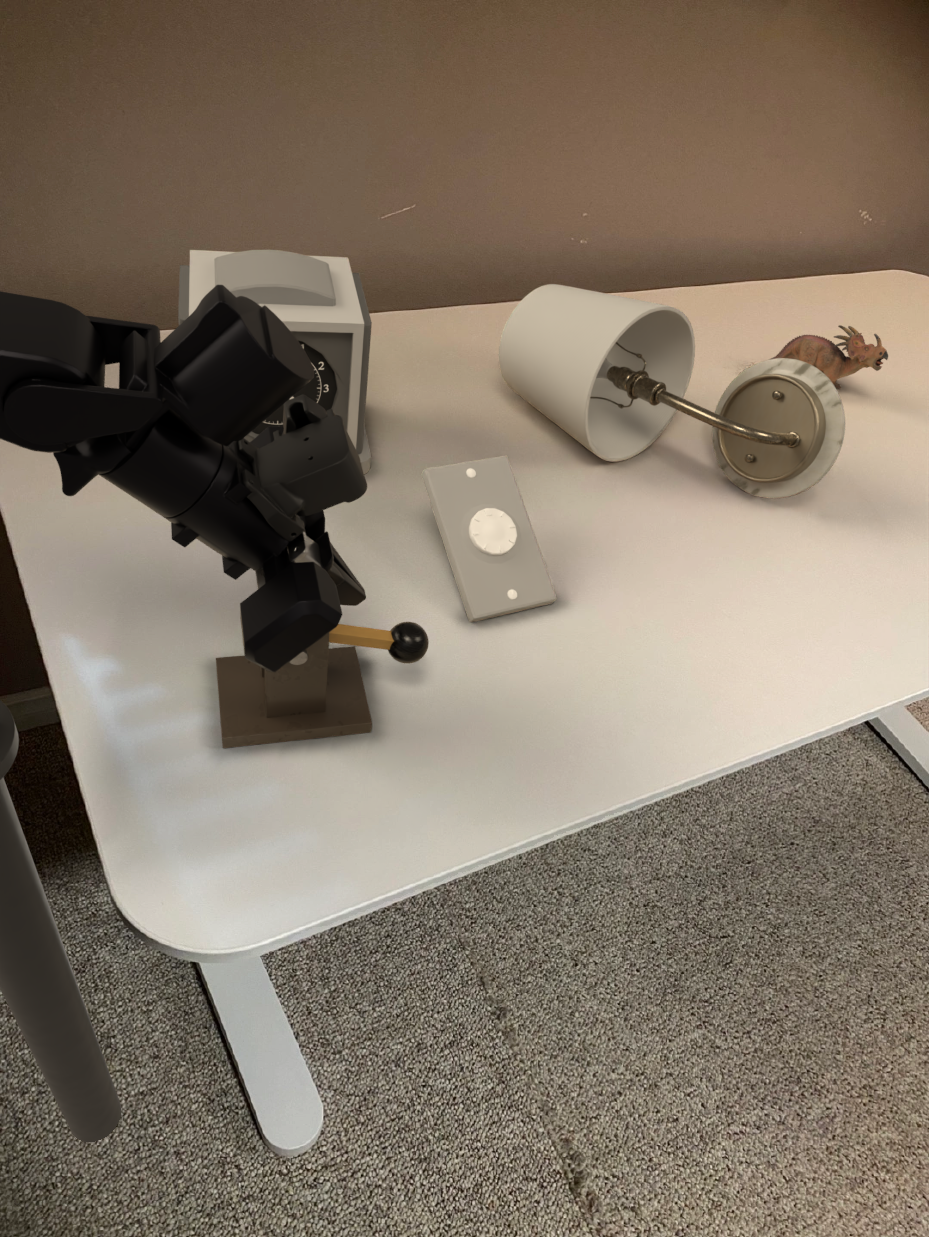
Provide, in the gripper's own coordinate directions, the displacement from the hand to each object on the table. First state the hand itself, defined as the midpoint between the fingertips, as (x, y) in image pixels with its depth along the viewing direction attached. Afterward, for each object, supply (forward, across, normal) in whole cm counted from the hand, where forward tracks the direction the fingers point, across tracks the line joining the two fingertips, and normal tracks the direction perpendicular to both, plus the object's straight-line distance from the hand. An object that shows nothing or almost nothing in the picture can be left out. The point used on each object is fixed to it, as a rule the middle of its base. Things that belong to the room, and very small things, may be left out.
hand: (360, 598), depth 66 cm
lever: (+3, 0, +4) cm, 5 cm away
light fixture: (+34, +30, -19) cm, 49 cm away
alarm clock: (+6, +35, +9) cm, 37 cm away
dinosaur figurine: (+54, +44, -40) cm, 80 cm away
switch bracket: (+4, 0, +11) cm, 11 cm away
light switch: (+18, +14, -3) cm, 22 cm away
